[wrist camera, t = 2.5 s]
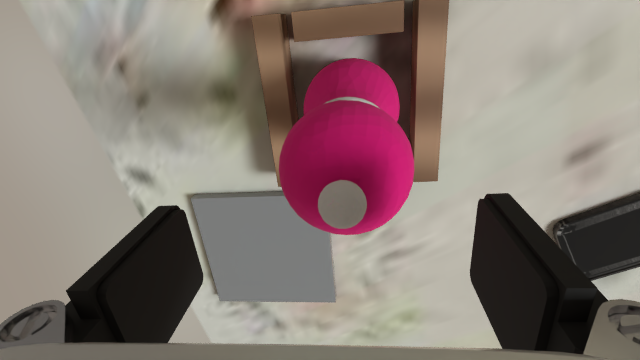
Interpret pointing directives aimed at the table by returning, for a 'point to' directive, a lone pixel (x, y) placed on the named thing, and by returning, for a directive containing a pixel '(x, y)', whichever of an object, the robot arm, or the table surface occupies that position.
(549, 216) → the table surface
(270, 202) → the slate tile
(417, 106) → the collar
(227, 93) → the table surface
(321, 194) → the pepper mill
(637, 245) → the phone
